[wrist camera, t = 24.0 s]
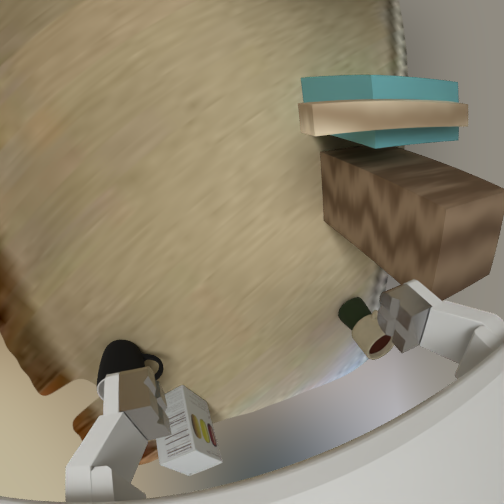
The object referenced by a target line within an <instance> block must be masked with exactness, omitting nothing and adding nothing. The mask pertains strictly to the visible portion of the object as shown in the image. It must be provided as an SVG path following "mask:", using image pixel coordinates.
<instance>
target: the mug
mask: <svg viewBox="0 0 504 504" xmlns="http://www.w3.org/2000/svg"><path fill="white" fill-rule="evenodd" d="M148 359H149V360H154V361H156V362H157V363H158V364H159V370H158V371H157V373H156V374H155V375H154V376H155V380H157V379H158V378H159V377H160V376H161V375H162V373H163V364H162V362H161V360H160V359H159V358H158V357H156V356H154V355H150V354H143V353H141V352H140V350H139V349H138V347H137V346H136V345H135V344H133V343H132V342H130V341H126V340H116V341H113V342H111V343H110V344H109V345H108V346H107V347H106V349H105V351H104V353H103V356H102V359H101V363H100V367H99V372H98V378H97V393H98V395H99V396H100V398H101V399H102V400H103V401H104V382H105V377H106V375H107V374H113V373H118V372H122V371H127V370H133V369H138V368H143V367H145V364H144V361H145V360H148Z"/></svg>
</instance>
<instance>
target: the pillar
mask: <svg viewBox="0 0 504 504" xmlns="http://www.w3.org/2000/svg"><path fill="white" fill-rule="evenodd" d="M320 158H321V173H322V190H323V210H324V221H325V222H326V223H328V224H329V225H330V226H332V227H333V228H334V229H335V230H337V231H338V232H339V233H340V234H341V235H343V236H344V237H345V238H346V239H348V240H349V241H350V242H351V243H353V244H354V245H355V246H356V247H357V248H359V249H360V250H361V251H362V252H363V253H365V254H366V255H367V256H368V257H369V258H371V259H372V260H373V261H374V262H375V263H377V264H378V265H379V266H380V267H381V268H382V269H384V270H385V271H386V272H387V273H388V274H389V275H391V276H392V277H393V278H394V279H395V280H396V281H398V282H399V283H400V284H404V283H406V282H409V281H411V280H413V279H415V280H418V281H419V282H420V283H421V284H423V285H424V286H425V287H426V288H427V289H429V290H430V291H431V292H432V293H433V294H434V295H436V296H437V297H438V298H439V299H440V300H441V301H442V300H444V299H446V298H448V297H450V296H452V295H454V294H455V293H457V292H459V291H461V290H463V289H464V288H466V287H468V286H470V285H472V284H473V283H475V282H477V281H478V280H480V279H482V278H483V277H485V276H487V275H489V273H490V270H491V266H492V263H493V259H494V255H495V251H496V247H497V243H498V239H499V235H500V230H501V225H502V221H503V215H504V189H503V188H501V187H499V186H497V185H495V184H492V183H490V182H488V181H486V180H483V179H481V178H479V177H476V176H474V175H472V174H469V173H467V172H464V171H462V170H459V169H457V168H454V167H452V166H449V165H447V164H444V163H441V162H438V161H436V160H433V159H430V158H428V157H425V156H422V155H419V154H416V153H413V152H410V151H407V150H404V149H401V148H398V147H395V146H392V147H384V148H376V149H375V148H372V147H369V146H366V145H364V146H357V147H349V148H342V149H335V150H329V151H322V152H320Z"/></svg>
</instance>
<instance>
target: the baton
mask: <svg viewBox="0 0 504 504" xmlns="http://www.w3.org/2000/svg"><path fill="white" fill-rule="evenodd" d="M298 108H299V118H300V128H301V133H305V134H308V135H312V136H323V135H331V134H340V133H349V132H359V131H370V130H383V129H398V128H416V127H451V126H468V105H467V104H463V103H458V102H452V101H439V100H418V99H356V100H334V101H319V102H307V103H298Z"/></svg>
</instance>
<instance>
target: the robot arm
mask: <svg viewBox="0 0 504 504" xmlns="http://www.w3.org/2000/svg"><path fill="white" fill-rule="evenodd" d="M379 302H380V303H381V304H382V306H381V307H380V309H379V310H378V315H377V320H378V324H379V326H380V328H381V330H382V331H383V332H384V334H386V335H389V336H391V337H392V343H393V344H394V345H395V346H396V347H397V348H398V349H399V351H401V353H404V352H406V351H408V350H410V349H412V348H414V347H416V346H418V345H420V346H421V347H423V348H425V349H428V350H430V351H432V352H434V353H436V354H438V355H441V356H443V357H445V358H447V359H450V360H452V361H454V362H456V363H459V366H458V368H457V370H456V373H455V377H456V378H457V380H455V381H454V382H452V383H451V384H450V385H448V386H447V387H445V388H444V389H442V390H441V391H439V392H438V393H436V394H435V395H433V396H431V397H430V398H428V399H427V400H425V401H423V402H422V403H420V404H419V405H417V406H415V407H414V408H412V409H410V410H408V411H407V412H405V413H403V414H402V415H400V416H398V417H396V418H395V419H393V420H391V421H389V422H387V423H385V424H383V425H381V426H379V427H377V428H376V429H374V430H372V431H370V432H368V433H366V434H364V435H362V436H360V437H358V438H355V439H353V440H351V441H349V442H347V443H344V444H342V445H340V446H338V447H335V448H333V449H331V450H328V451H326V452H324V453H321V454H319V455H316V456H314V457H311V458H309V459H306V460H303V461H301V462H298V463H295V464H292V465H290V466H287V467H284V468H281V469H278V470H275V471H272V472H268V473H265V474H262V475H259V476H255V477H252V478H248V479H245V480H241V481H238V482H233V483H230V484H226V485H221V486H217V487H213V488H209V489H203V490H198V491H194V492H188V493H183V494H177V495H170V496H164V497H156V498H149V499H146V494H144V493H143V492H142V491H140V490H139V489H138V488H136V487H134V486H133V485H132V484H131V481H132V479H133V476H134V474H135V471H136V469H137V467H138V464H139V462H140V460H141V457H142V455H143V453H144V450H145V448H146V446H147V443H148V441H147V440H152V439H157V438H161V437H166V436H170V435H172V434H171V428H170V422H169V418H168V416H167V415H166V413H165V411H166V409H167V402H166V398H165V394H164V391H163V389H162V386H161V385H160V383H159V381H156V380H155V376H154V372H153V370H152V369H151V367H149V366H148V367H143V368H138V369H133V370H127V371H122V372H118V373H113V374H107V375H106V377H105V382H104V408H103V415H101V416H99V417H98V419H97V420H96V422H95V423H94V425H93V426H92V428H91V429H90V431H89V432H88V434H87V435H86V437H85V438H84V440H83V441H82V443H81V445H80V446H79V447H78V449H77V451H76V452H75V454H74V455H73V457H72V458H71V460H70V462H69V463H68V464H67V466H66V482H65V484H66V502H49V501H34V500H25V499H16V498H9V497H2V496H0V504H504V321H503V320H502V319H501V318H500V317H498V316H497V315H496V314H493V313H490V312H486V311H483V310H479V309H475V308H472V307H468V306H464V305H461V304H457V303H453V302H450V301H446V300H445V301H441V300H440V299H439V298H438V297H437V296H436V295H434V294H433V293H432V292H431V291H430V290H429V289H427V288H426V287H425V286H424V285H423V284H421V283H420V282H419V281H418V280H415V279H413V280H411V281H409V282H406V283H404V284H401V285H399V286H397V287H395V288H392V289H390V290H387V291H385V292H382V294H381V295H380V300H379Z"/></svg>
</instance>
